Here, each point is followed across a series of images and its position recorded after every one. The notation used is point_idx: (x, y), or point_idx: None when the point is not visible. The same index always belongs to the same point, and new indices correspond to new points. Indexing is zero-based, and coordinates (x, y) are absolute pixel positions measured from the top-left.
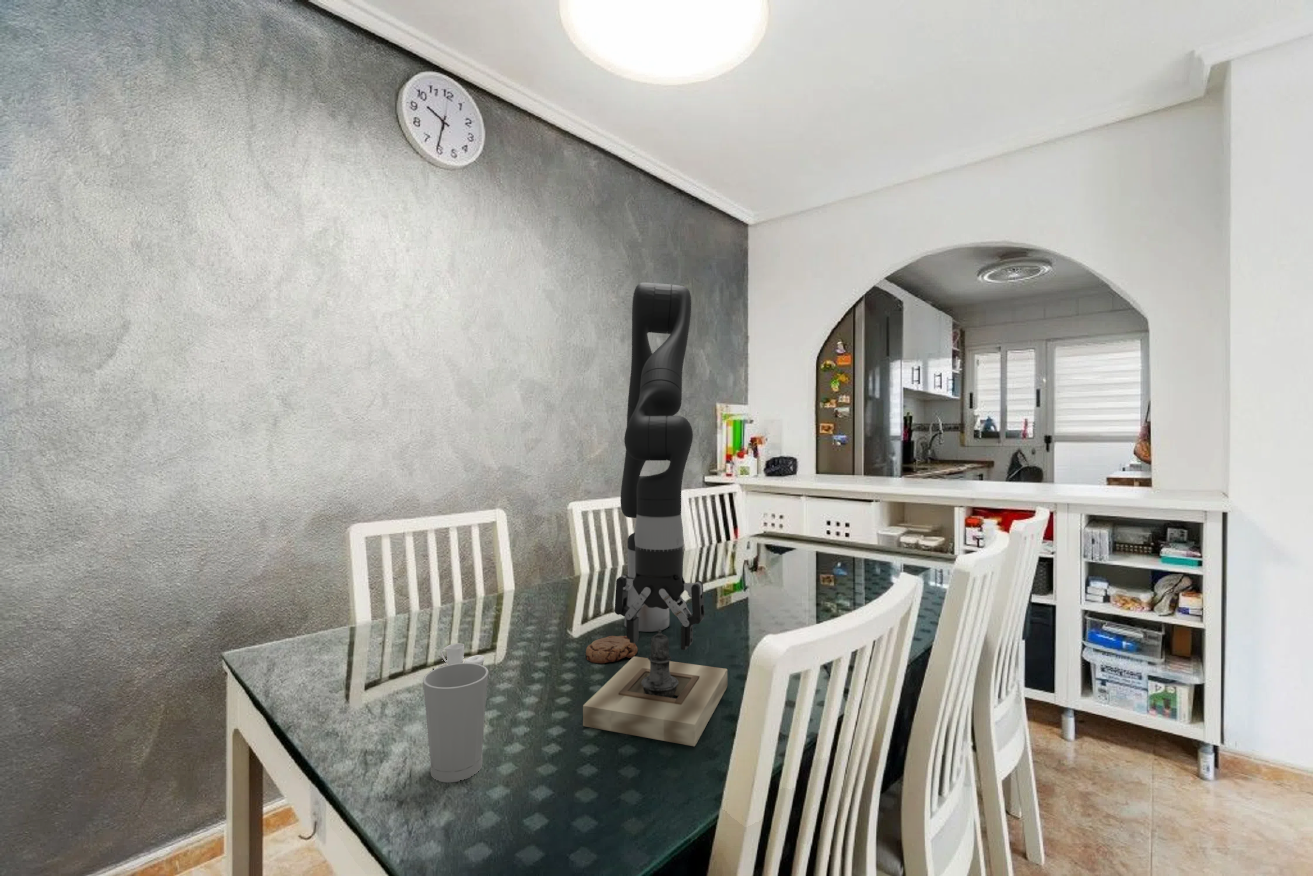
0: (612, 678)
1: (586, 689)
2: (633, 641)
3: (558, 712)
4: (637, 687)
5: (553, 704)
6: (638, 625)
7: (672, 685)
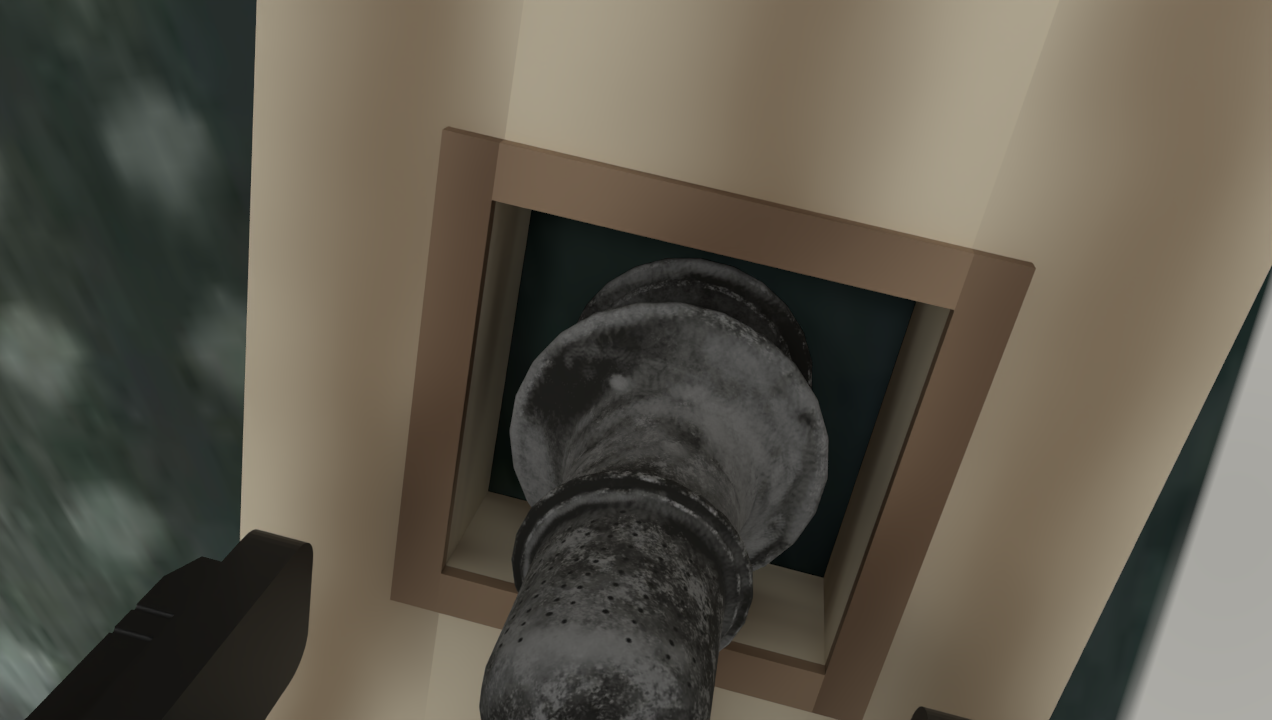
0: (257, 336)
1: (100, 180)
2: (289, 678)
3: (95, 504)
4: (485, 359)
5: (14, 413)
6: (218, 655)
7: (779, 526)
